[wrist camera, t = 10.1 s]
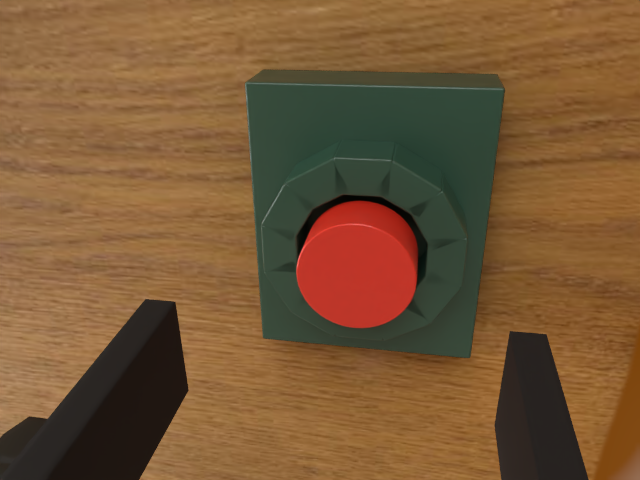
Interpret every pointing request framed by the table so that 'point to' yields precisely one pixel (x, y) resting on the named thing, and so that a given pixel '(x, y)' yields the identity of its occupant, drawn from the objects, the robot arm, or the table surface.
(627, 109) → the table surface
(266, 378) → the table surface
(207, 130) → the table surface
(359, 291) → the button
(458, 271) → the button block
